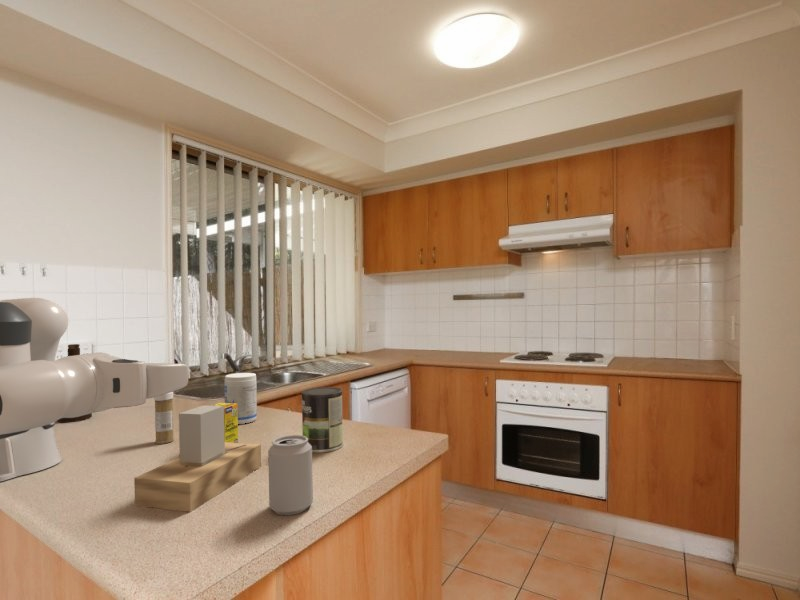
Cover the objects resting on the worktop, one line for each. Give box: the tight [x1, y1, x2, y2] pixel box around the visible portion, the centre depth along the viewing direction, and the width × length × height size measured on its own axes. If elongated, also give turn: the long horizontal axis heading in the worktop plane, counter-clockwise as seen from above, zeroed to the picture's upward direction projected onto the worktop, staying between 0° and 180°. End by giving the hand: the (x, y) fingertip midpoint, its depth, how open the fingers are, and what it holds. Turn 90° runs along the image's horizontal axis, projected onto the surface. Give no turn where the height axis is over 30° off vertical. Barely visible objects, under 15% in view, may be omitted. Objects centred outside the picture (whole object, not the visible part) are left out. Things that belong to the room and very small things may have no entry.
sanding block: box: [178, 405, 225, 466], centre depth 89 cm, size 7×5×10 cm
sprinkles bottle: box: [153, 391, 175, 445], centre depth 119 cm, size 5×5×14 cm
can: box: [267, 434, 314, 516], centre depth 78 cm, size 8×8×12 cm
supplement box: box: [211, 402, 239, 443], centre depth 113 cm, size 6×6×11 cm
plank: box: [133, 442, 262, 513], centre depth 89 cm, size 22×12×5 cm, turn 165°
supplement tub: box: [224, 372, 258, 425], centre depth 139 cm, size 10×10×15 cm
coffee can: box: [300, 386, 344, 454], centre depth 112 cm, size 10×10×14 cm
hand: (162, 368), depth 80 cm, fingers open, 8 cm apart
